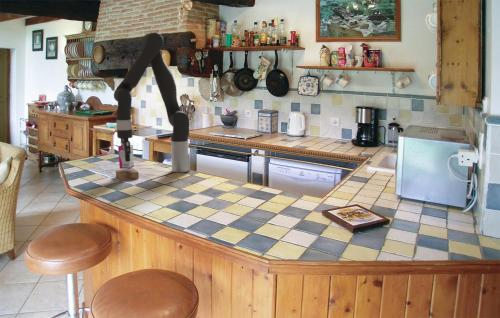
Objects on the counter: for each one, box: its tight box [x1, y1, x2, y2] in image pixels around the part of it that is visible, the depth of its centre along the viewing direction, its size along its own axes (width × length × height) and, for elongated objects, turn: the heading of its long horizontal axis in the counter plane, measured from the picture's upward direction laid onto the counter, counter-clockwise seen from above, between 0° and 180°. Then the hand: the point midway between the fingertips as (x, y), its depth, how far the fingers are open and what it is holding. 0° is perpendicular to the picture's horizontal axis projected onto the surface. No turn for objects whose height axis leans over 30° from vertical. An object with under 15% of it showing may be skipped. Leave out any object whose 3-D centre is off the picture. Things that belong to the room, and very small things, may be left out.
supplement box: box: [117, 144, 135, 170], centre depth 211 cm, size 6×6×12 cm
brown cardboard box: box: [115, 167, 140, 182], centre depth 213 cm, size 9×9×4 cm
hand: (126, 159), depth 211 cm, fingers closed on supplement box, 7 cm apart
